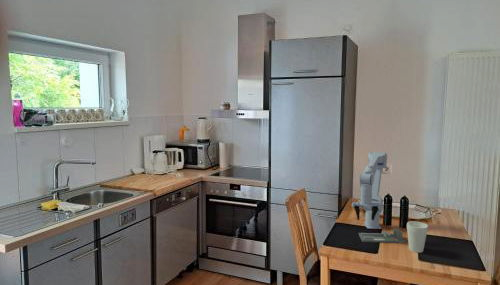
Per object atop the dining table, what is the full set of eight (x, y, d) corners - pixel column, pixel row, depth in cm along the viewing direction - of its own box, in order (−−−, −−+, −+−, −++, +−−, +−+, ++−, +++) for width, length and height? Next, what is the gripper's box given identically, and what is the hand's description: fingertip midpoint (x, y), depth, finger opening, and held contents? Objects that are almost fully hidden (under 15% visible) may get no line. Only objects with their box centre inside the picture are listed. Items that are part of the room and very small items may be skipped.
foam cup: (424, 247, 175) (425, 222, 174) (428, 254, 166) (430, 228, 165) (404, 245, 178) (405, 220, 176) (407, 252, 169) (408, 227, 167)
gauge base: (358, 234, 192) (358, 226, 191) (399, 235, 190) (399, 227, 189) (362, 242, 182) (363, 233, 181) (406, 243, 180) (406, 234, 179)
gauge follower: (381, 234, 188) (381, 231, 187) (387, 235, 187) (387, 231, 187) (385, 239, 181) (385, 235, 181) (391, 239, 181) (391, 235, 181)
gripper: (354, 197, 183) (353, 221, 185) (382, 197, 182) (381, 222, 184) (351, 193, 190) (350, 217, 192) (378, 193, 189) (377, 217, 191)
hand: (365, 219), depth 188 cm, fingers open, 7 cm apart
